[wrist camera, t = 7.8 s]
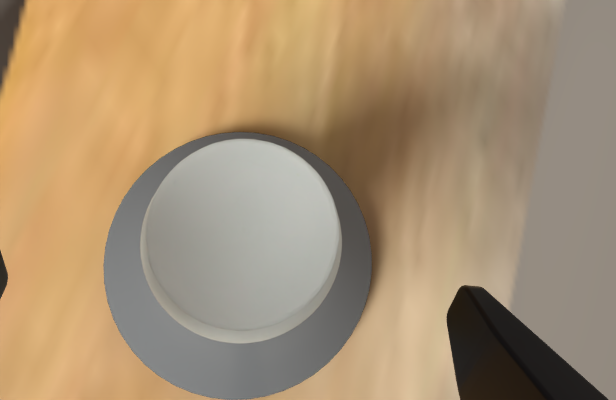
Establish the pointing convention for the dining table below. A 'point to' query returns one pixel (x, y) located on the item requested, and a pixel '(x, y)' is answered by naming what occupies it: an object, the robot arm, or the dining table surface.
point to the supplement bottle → (241, 241)
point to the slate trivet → (220, 355)
